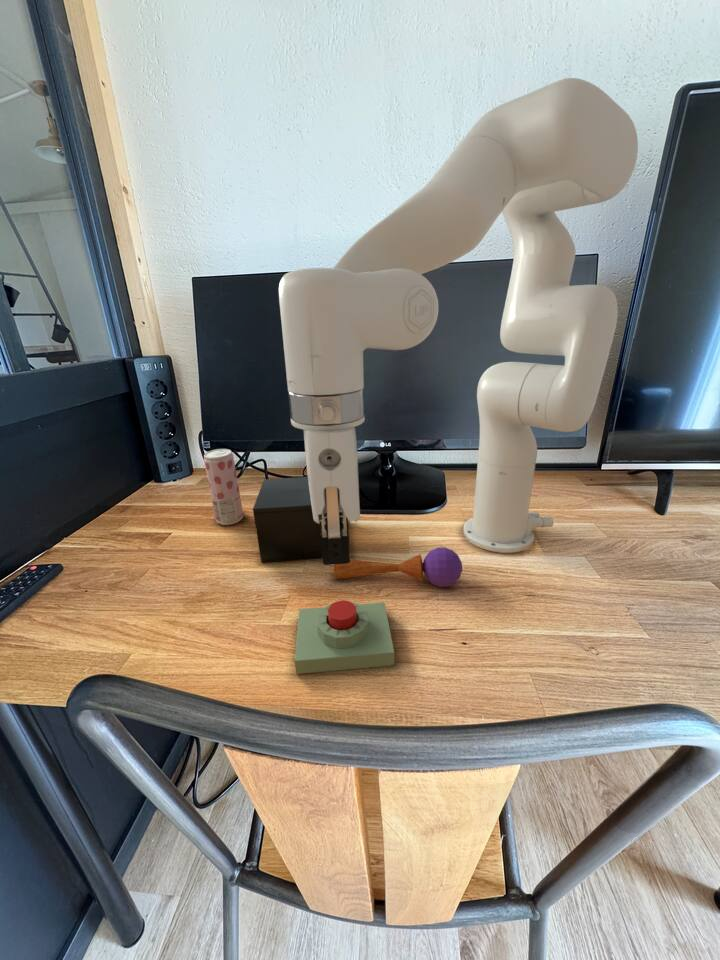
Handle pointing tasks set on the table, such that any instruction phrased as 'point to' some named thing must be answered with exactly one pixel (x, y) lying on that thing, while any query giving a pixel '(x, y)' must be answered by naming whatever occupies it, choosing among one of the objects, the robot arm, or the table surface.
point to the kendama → (410, 567)
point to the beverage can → (223, 486)
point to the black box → (288, 535)
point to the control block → (343, 640)
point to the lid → (283, 495)
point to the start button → (342, 615)
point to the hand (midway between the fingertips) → (336, 560)
